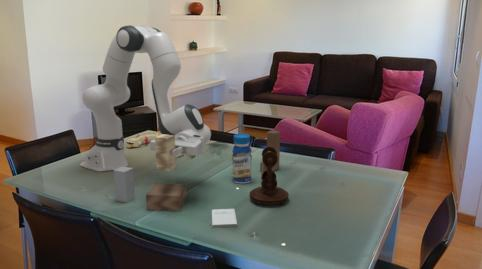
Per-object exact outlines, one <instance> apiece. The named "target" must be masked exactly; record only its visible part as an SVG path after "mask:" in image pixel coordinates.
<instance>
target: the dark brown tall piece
mask: <svg viewBox="0 0 482 269" xmlns="http://www.w3.org/2000/svg"><path fill="white" fill-rule="evenodd" d="M261 156H262V159H261V162H262V161H263V163H262V170H261V171H260V182H261V183H260V184H261V186H257V187H255V188H253V189H252V190H250V191H249V196H248V197H249V198H250V199H251V200H252V201H253V202H254V203H255V205H256V206H257V205H258V203H259V204H264V205H277V204H280V205H281V206H284V202H286V201H287V200H288V199H289V192H288V191H287V190H285V189H284V188H281V187H279V186H278V180H277V174H276V173H275V171H272V167H273V166H274V165H275V164H276V163H277V161H278V157H277V152H276V150H275V149H274V148H273V147H267V146H266V147H265V148H263V149H262V152H261ZM264 164H265V166H266V167H267V171H265V172H263V168H264Z"/></svg>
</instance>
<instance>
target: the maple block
mask: <svg viewBox="0 0 482 269" xmlns="http://www.w3.org/2000/svg"><path fill="white" fill-rule="evenodd" d="M155 148H156V153H155V162H156V170H159V171H165V172H170V171H172V170H174V169H175V168H177V160H176V159H177V156H176V155H177V154H175V155H171V154H170V150H172V149H175V135H166V134H159V136H157V137H155Z"/></svg>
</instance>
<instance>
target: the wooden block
mask: <svg viewBox="0 0 482 269" xmlns="http://www.w3.org/2000/svg"><path fill="white" fill-rule="evenodd" d="M280 143H281V131H280V130H275V129H272V130H268V131H267V132H266V147H273V148H274V149H275V150H276V152H277V157H278V161H277V163H276V164H275V165H274V166H273V167H272V171H273V172H275V171H277V169H278V170H280V151H281V150H280V149H281V146H280V145H281V144H280ZM262 163H263V161H262V160H261V162H260V164H259V168H260V169H259V170H260V172H261V170H262ZM265 171H267V167H266V166H265V164H264V168H263V173H264V172H265Z"/></svg>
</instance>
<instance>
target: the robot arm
mask: <svg viewBox="0 0 482 269" xmlns="http://www.w3.org/2000/svg"><path fill="white" fill-rule="evenodd" d="M144 53H145V54H148V56H149V59H150V63H151V65H152V73H153V74H152V80H151V90H152V96H153V100H154V101H153V102H154V105H155V109H156V114H157V127H158V128H159V130H158V131H160V133H159V134H160V135H162V134H166V135H175V149H172V150H170V154H171V155H183V156H184V155H186V156H193V157H194V156H199V155H202V154H204V153H205V145H207V144H208V142H210V140H211V136H212V131H211V129H210V127H209V126H208V125H206V124H205V123H204V118H203V115H202V113H201V111H200V110H199V109H198V108H197V107H196V106H194V105H193V104H188V103H187V104H185V105H183V106H181V107H179V108H176V109H175V110H173V111H171V108H170V104H169V99H168V91H169V88H170V87H171V85H172V83H173V82H174V81H175V80H176V79H177V78H178V76H179V74H180V72H181V68H182V67H181V66H182V65H181V64H182V63H181V61H180V57H179V54H178V52H177V50H176V47H175V46H174V44H173V42H172V40H171V38H170V36H169V35H168V34H167V33H166V32H164V31H161V30H159V29H158V28H155V27H149V26H144V25H124V26H121V27H120V28H119V29H118V30H117V32H116V34H115V35H114V36H113V38H112V40H111V42H110V44H109V47H108V50H107V52H106V56H105V59H104V62H103V66H102V72H103V73H104V75H105V81H104V83H103V84H95V85H91V86H90V87H89V88H86V89H85V90H84V91H83V93H82V102H83V104H84V106H85V107H86V108H87V109H89V111H91V113H92V115H93V117H94V120H95V124H96V130H97V137H96V138H95V137H94V138H93V142H95V144H94V145H93V146H91V148H89V150H87V151H86V153H85V155H84V156H85V157H84V160H83V161H82V162H80V164H79V165H80V166H79V167H82V168H85V169H88V170H92V171H95V172H107V171H114V170H115V169H118V168H120V167H122V166H123V167H128V165H129V163H128V161H127V157H126V156H127V155H126V151H125V147H124V146H125V138H124V135H123V123H122V119H121V118H120V117H119V116H117V114H116V112H115V109H114V107H117V106H120V105H122V104H124V103H126V102H128V101H129V99H130V97H131V89H130V88H129V86H128V76H129V72H130V69H131V67H132V66H131V65H132V63H133V60H134V57H135V55H136V54H144ZM149 148H150V151H154V153H155V154H156V148H155V139H154V140H150V141H149Z"/></svg>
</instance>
